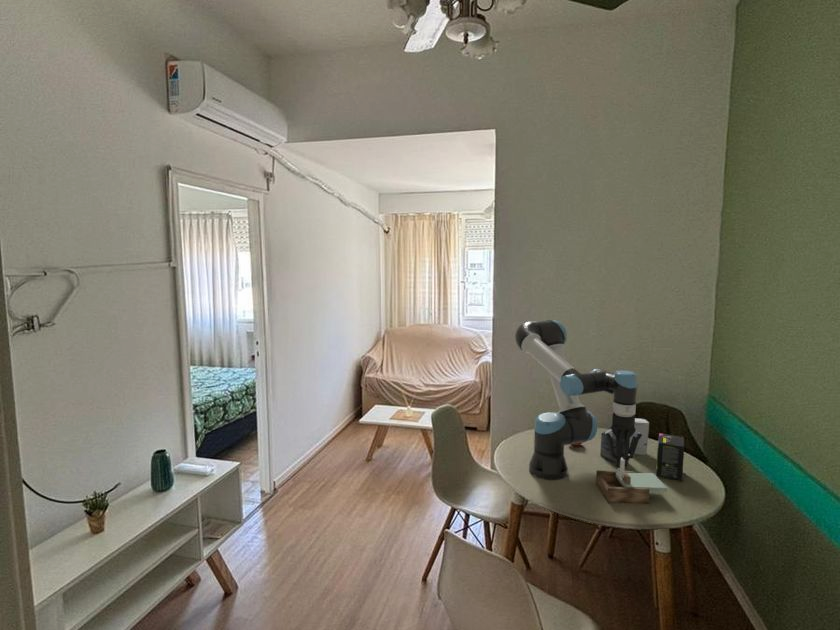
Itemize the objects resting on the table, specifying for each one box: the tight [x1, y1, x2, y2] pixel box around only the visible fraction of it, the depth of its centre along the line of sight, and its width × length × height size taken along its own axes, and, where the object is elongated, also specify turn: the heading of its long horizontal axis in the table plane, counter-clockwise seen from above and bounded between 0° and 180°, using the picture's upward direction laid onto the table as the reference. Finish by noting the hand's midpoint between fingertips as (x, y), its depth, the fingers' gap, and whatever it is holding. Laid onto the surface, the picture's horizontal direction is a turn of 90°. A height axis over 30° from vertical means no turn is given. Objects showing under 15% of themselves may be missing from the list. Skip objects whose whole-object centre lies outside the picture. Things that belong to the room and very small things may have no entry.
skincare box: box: [629, 417, 650, 456], centre depth 212 cm, size 8×6×15 cm
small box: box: [599, 432, 630, 464], centre depth 205 cm, size 11×6×10 cm, turn 22°
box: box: [595, 469, 650, 505], centre depth 176 cm, size 14×14×6 cm
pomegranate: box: [570, 442, 584, 447], centre depth 220 cm, size 7×7×10 cm
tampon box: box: [655, 432, 685, 482], centre depth 191 cm, size 11×9×15 cm
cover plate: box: [616, 469, 668, 493], centre depth 175 cm, size 14×11×4 cm
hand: (620, 475), depth 175 cm, fingers closed
